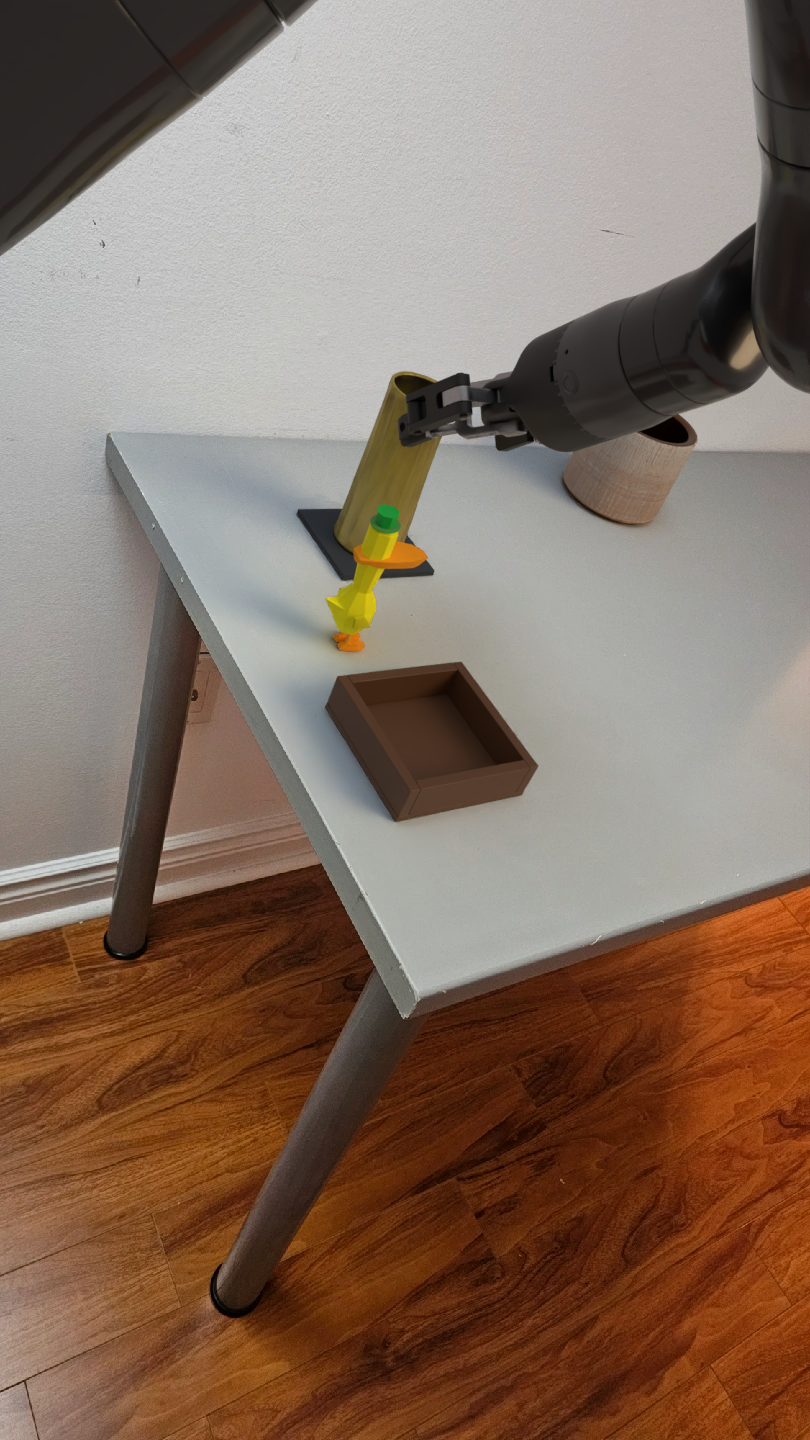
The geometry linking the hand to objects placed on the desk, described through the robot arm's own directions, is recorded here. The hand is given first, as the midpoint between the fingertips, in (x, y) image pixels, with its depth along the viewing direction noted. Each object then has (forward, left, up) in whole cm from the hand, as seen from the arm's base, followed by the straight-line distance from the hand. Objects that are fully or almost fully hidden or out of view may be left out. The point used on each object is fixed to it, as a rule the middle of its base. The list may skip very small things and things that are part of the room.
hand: (452, 435), depth 78 cm
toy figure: (-4, -9, -14) cm, 17 cm away
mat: (-2, +5, -14) cm, 15 cm away
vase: (-2, +5, -14) cm, 15 cm away
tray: (+1, -19, -14) cm, 24 cm away
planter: (+26, +25, -14) cm, 39 cm away
